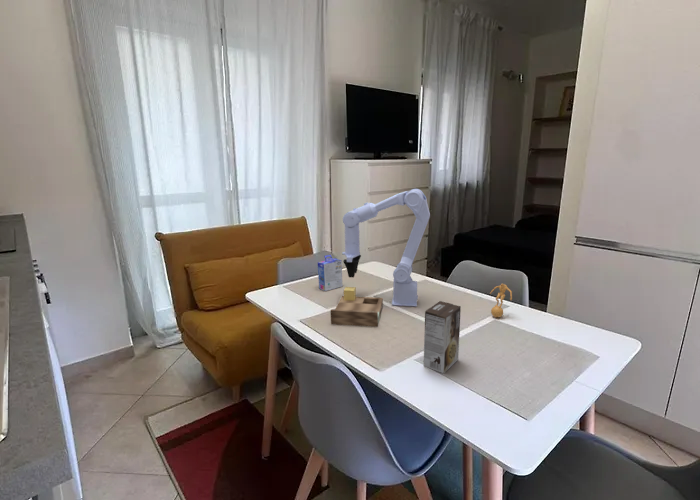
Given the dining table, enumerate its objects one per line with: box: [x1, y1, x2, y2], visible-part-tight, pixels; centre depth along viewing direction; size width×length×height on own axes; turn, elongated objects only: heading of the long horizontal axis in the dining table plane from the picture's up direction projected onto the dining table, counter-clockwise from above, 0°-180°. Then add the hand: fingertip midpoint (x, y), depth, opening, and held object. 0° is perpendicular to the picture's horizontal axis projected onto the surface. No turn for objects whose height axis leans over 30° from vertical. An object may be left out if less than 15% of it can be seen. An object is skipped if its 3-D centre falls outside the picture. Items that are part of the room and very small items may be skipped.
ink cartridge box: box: [317, 254, 343, 292], centre depth 164 cm, size 10×6×14 cm, turn 129°
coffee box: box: [423, 300, 462, 374], centre depth 101 cm, size 9×6×16 cm
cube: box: [343, 286, 357, 301], centre depth 145 cm, size 4×4×4 cm
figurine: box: [489, 283, 513, 318], centre depth 131 cm, size 8×6×12 cm
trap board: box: [330, 295, 384, 328], centre depth 137 cm, size 16×21×5 cm
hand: (352, 274), depth 150 cm, fingers open, 5 cm apart
